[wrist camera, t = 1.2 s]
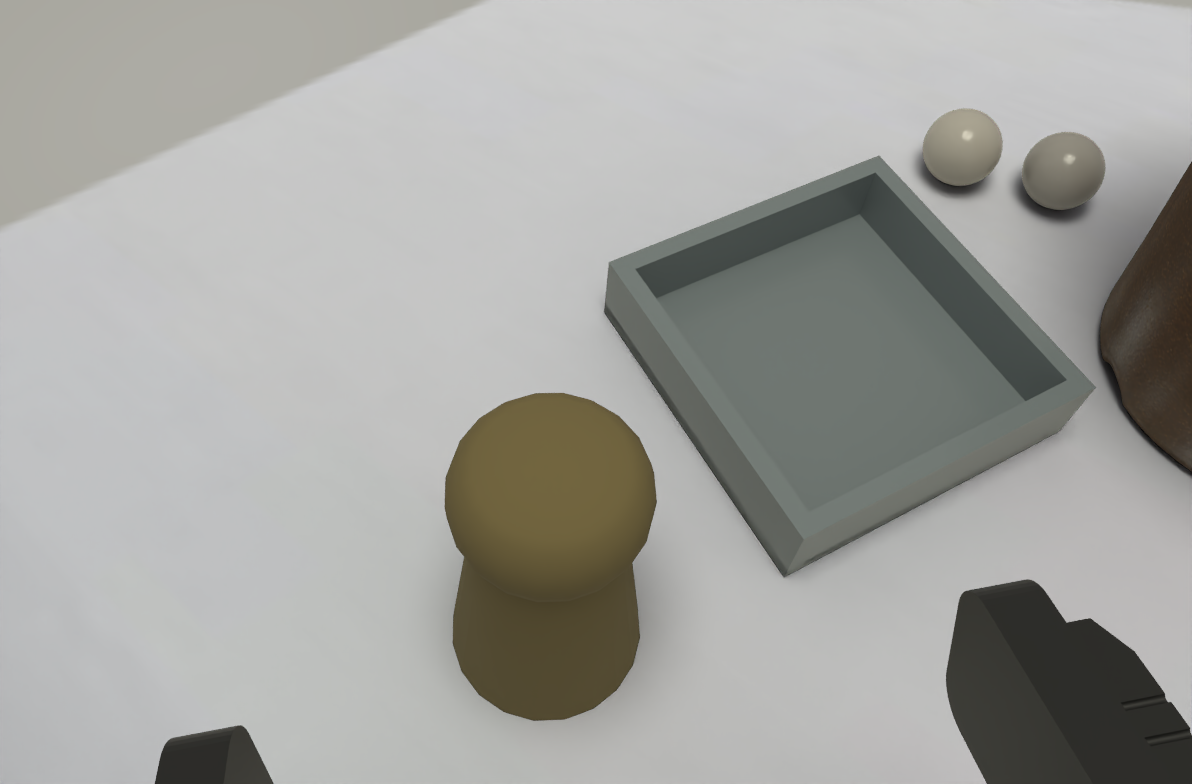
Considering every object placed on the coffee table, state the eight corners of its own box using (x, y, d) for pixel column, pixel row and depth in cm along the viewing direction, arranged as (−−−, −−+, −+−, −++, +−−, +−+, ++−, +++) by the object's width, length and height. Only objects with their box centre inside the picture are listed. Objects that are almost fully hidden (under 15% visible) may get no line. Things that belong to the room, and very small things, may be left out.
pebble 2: (994, 185, 45) (1023, 130, 42) (1049, 162, 46) (1081, 106, 43) (1044, 235, 44) (1078, 181, 41) (1099, 210, 45) (1136, 156, 42)
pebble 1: (898, 162, 46) (921, 106, 43) (954, 139, 47) (980, 83, 44) (944, 211, 44) (971, 156, 41) (1001, 186, 45) (1030, 131, 42)
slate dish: (604, 312, 40) (609, 262, 38) (859, 207, 44) (878, 155, 41) (784, 577, 35) (803, 539, 32) (1058, 431, 38) (1096, 387, 36)
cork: (617, 526, 35) (647, 338, 26) (659, 700, 32) (710, 556, 23) (440, 556, 34) (406, 373, 25) (466, 738, 31) (438, 605, 22)
